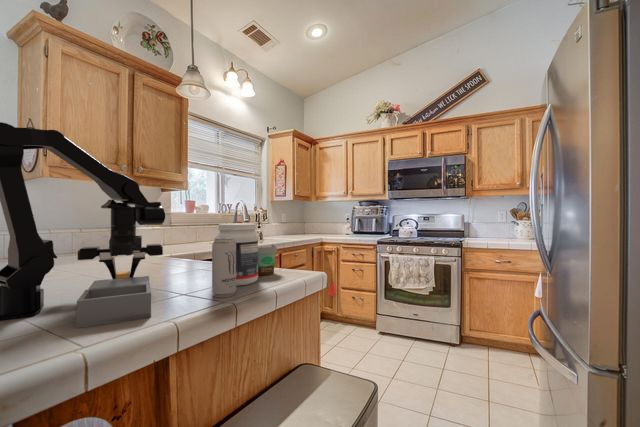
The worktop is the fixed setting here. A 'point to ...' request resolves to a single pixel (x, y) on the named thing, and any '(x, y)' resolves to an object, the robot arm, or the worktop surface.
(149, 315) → the parts tub
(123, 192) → the robot arm
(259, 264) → the food container
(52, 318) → the worktop surface
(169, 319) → the worktop surface
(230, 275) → the energy drink can
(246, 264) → the supplement tub
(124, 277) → the lid
